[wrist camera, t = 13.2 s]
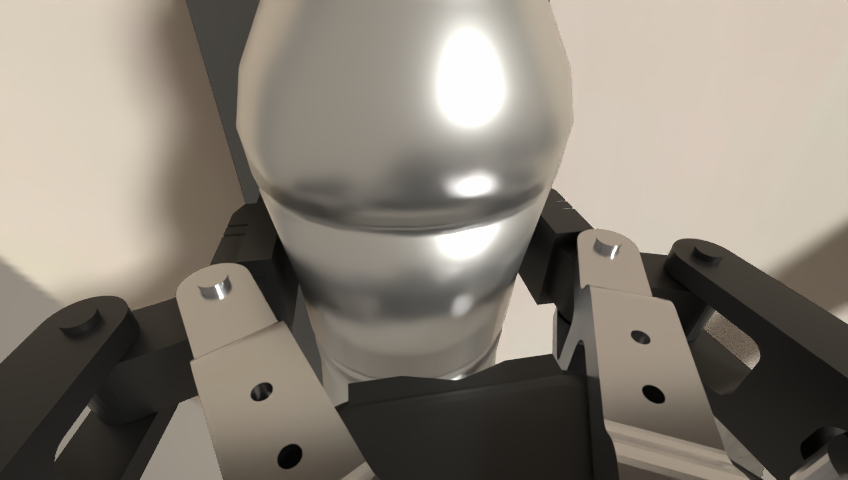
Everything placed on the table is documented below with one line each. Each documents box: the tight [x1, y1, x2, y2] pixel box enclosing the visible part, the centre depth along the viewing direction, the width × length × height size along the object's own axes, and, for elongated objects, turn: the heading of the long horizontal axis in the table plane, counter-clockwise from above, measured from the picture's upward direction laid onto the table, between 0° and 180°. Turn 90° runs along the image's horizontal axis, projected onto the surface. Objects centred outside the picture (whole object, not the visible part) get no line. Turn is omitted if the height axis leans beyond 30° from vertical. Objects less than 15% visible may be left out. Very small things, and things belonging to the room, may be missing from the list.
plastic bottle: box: [236, 0, 573, 407], centre depth 10 cm, size 6×7×20 cm
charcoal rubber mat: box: [186, 0, 550, 387], centre depth 14 cm, size 10×24×1 cm, turn 0°
